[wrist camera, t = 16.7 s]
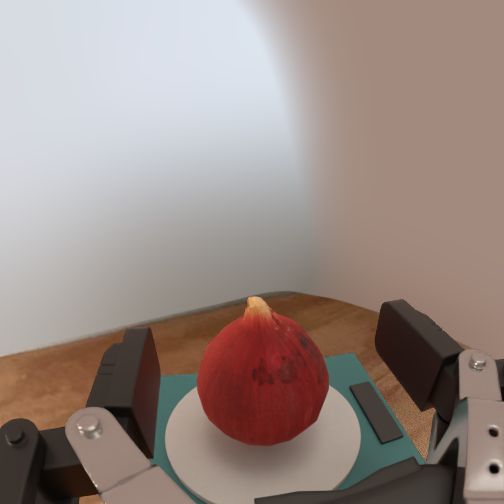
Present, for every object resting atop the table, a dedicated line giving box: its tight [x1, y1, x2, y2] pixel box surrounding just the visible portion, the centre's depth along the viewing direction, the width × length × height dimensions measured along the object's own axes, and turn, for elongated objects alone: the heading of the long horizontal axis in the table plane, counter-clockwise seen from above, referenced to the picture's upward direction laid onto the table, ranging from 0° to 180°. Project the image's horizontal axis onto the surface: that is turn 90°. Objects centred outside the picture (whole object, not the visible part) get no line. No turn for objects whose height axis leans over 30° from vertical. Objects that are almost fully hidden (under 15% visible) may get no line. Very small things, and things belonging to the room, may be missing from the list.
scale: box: [149, 352, 425, 504], centre depth 16 cm, size 14×12×3 cm
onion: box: [197, 297, 329, 446], centre depth 13 cm, size 6×6×8 cm
